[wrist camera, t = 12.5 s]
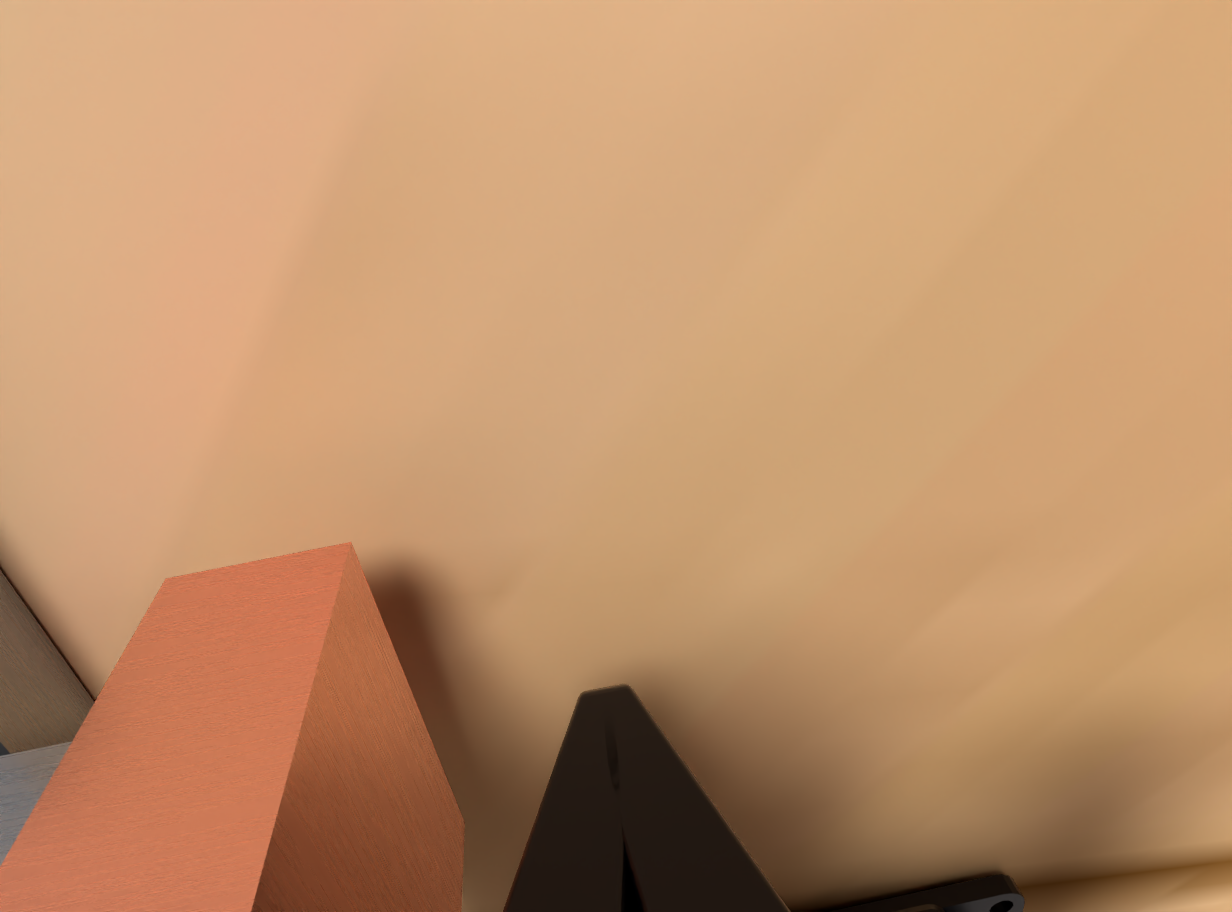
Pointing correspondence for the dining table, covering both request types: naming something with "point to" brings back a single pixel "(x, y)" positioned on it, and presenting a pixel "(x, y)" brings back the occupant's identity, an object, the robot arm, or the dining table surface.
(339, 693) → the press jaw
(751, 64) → the dining table surface
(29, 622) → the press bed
